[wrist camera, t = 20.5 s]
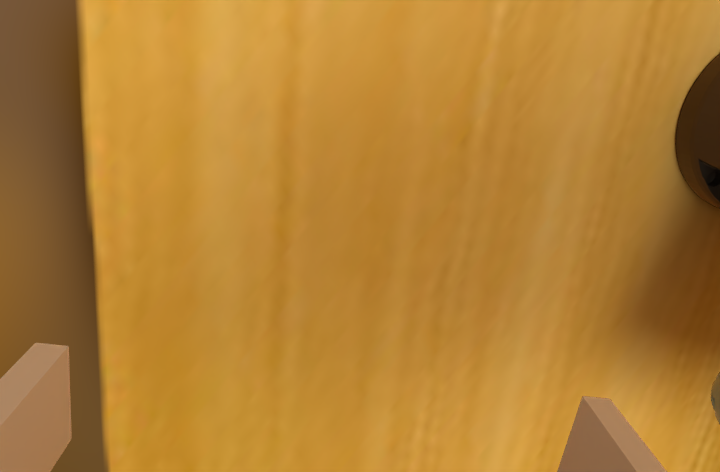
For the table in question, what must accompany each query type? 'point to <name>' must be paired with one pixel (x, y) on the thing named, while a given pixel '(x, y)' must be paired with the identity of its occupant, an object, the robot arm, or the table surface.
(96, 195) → the table surface
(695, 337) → the table surface
